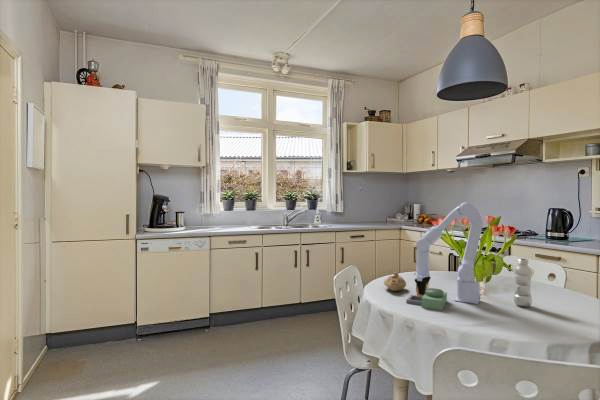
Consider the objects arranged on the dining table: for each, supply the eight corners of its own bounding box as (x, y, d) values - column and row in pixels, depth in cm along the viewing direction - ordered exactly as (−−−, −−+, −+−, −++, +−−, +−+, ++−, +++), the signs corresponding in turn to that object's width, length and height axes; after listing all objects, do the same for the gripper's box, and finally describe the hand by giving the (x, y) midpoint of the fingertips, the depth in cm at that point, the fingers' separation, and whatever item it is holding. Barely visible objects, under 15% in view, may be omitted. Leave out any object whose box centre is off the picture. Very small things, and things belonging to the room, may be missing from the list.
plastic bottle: (523, 309, 149) (524, 261, 149) (510, 304, 155) (510, 258, 155) (535, 307, 151) (536, 260, 150) (521, 303, 157) (522, 257, 157)
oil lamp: (385, 294, 172) (385, 277, 172) (382, 286, 187) (382, 270, 187) (409, 294, 171) (409, 278, 170) (404, 286, 185) (404, 271, 185)
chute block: (428, 295, 169) (428, 283, 169) (426, 298, 165) (426, 285, 165) (417, 294, 171) (418, 281, 171) (415, 296, 168) (415, 283, 167)
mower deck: (446, 301, 160) (446, 288, 160) (441, 310, 148) (441, 295, 148) (412, 296, 168) (412, 283, 167) (404, 304, 156) (404, 290, 155)
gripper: (417, 260, 176) (417, 288, 176) (410, 266, 164) (410, 295, 164) (432, 262, 173) (432, 290, 173) (426, 267, 160) (426, 298, 160)
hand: (422, 293), depth 168 cm, fingers closed on chute block, 4 cm apart
